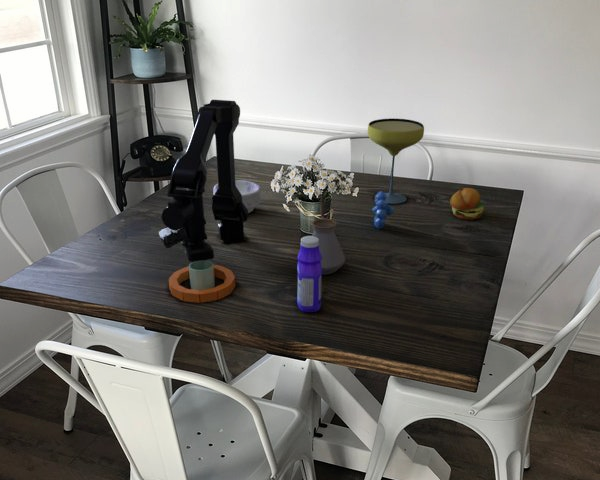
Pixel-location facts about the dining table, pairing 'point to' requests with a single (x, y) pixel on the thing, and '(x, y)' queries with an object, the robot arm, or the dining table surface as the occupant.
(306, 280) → the bottle
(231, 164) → the robot arm
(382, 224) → the grapes
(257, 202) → the paper bowls
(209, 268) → the cup
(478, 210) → the cheeseburger
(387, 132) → the cocktail glass
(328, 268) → the coffee pot
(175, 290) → the ring
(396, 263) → the dining table surface
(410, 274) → the dining table surface
